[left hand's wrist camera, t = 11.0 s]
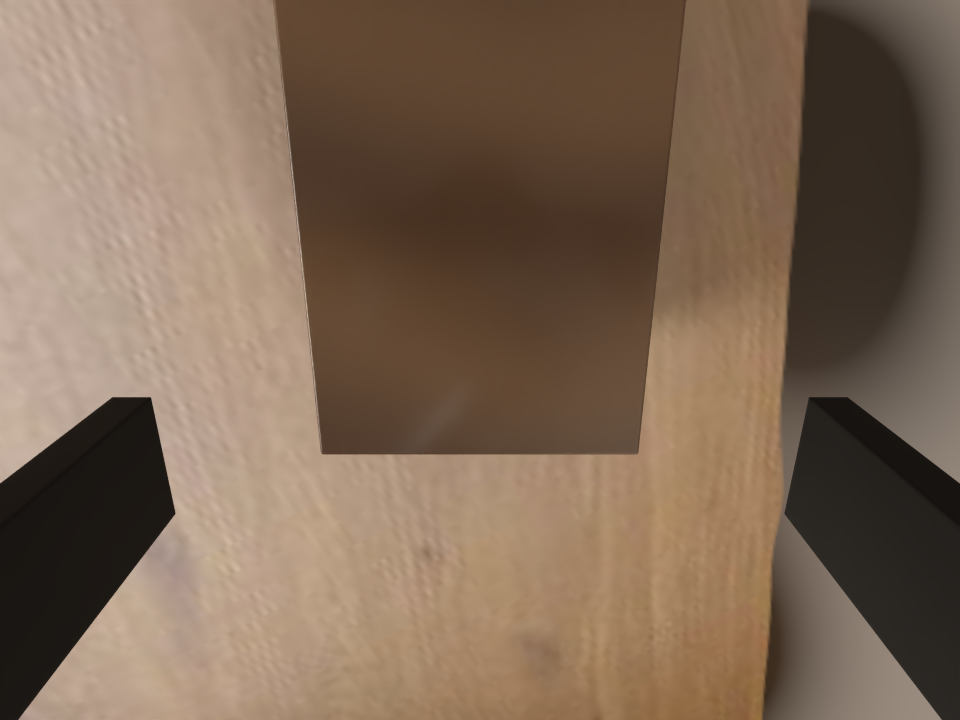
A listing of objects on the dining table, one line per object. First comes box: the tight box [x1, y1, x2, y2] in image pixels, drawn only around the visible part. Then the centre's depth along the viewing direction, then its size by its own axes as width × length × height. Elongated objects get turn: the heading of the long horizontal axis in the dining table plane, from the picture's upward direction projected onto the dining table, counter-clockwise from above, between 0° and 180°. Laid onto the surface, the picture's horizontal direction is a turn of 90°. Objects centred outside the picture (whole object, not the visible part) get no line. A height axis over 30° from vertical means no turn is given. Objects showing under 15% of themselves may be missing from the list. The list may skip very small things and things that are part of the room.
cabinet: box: [273, 0, 686, 454], centre depth 23 cm, size 17×11×12 cm, turn 0°
